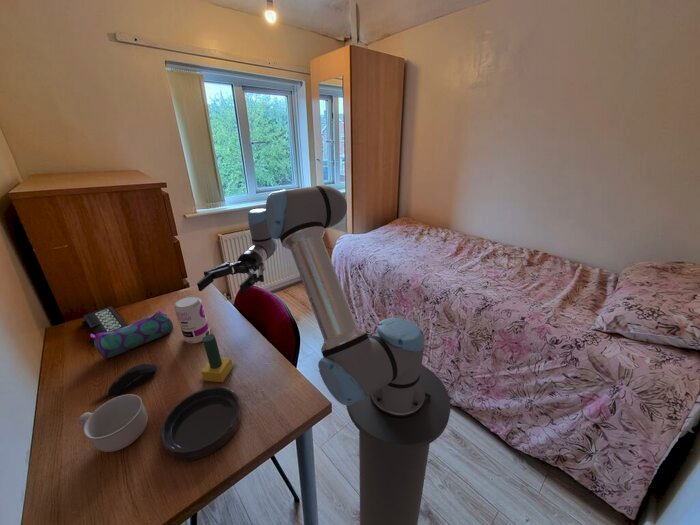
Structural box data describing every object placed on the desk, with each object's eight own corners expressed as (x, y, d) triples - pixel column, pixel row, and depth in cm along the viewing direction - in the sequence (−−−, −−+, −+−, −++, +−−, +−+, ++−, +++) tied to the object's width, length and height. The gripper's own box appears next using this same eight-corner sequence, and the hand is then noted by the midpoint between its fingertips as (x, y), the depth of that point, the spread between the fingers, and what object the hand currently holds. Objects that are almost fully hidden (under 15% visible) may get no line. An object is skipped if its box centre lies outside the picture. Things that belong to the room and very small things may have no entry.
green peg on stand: (233, 367, 88) (224, 331, 82) (222, 382, 83) (212, 345, 77) (215, 365, 89) (205, 330, 83) (203, 380, 83) (192, 344, 78)
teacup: (162, 420, 72) (152, 397, 69) (123, 464, 62) (110, 441, 59) (117, 410, 75) (105, 388, 71) (73, 452, 65) (57, 429, 62)
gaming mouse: (93, 396, 79) (88, 385, 77) (152, 364, 90) (149, 354, 88) (100, 408, 75) (94, 397, 74) (161, 373, 86) (157, 363, 84)
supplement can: (211, 327, 106) (201, 292, 100) (209, 341, 99) (199, 304, 93) (186, 332, 104) (175, 297, 97) (183, 347, 97) (171, 310, 90)
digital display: (78, 315, 109) (110, 305, 116) (81, 322, 110) (113, 311, 117) (91, 338, 97) (126, 324, 104) (95, 346, 98) (129, 332, 105)
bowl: (253, 399, 77) (251, 390, 75) (217, 467, 61) (214, 457, 60) (195, 393, 79) (192, 384, 78) (147, 456, 64) (141, 446, 62)
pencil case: (167, 324, 108) (160, 303, 104) (176, 334, 103) (169, 312, 99) (99, 354, 94) (87, 330, 90) (104, 367, 89) (92, 343, 85)
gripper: (286, 270, 103) (261, 301, 84) (222, 267, 107) (185, 296, 88) (283, 251, 100) (257, 279, 81) (218, 248, 104) (178, 275, 85)
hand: (220, 288), depth 84 cm, fingers open, 13 cm apart
